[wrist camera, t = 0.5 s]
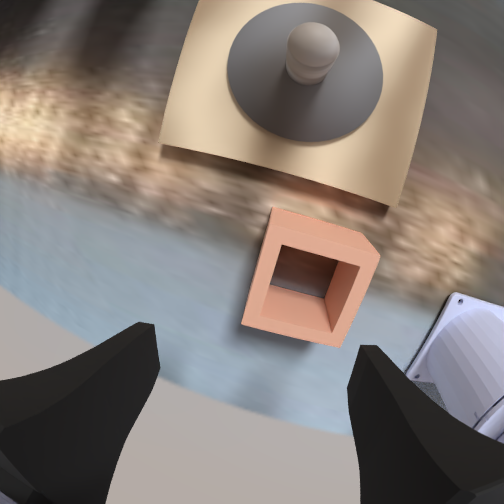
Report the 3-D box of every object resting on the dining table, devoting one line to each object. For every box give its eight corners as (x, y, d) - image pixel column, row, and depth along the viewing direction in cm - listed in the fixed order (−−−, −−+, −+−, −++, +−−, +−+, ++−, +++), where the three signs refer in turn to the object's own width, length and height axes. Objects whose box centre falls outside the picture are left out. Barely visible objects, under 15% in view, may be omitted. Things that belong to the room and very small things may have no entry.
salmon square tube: (361, 233, 18) (380, 255, 14) (331, 311, 20) (339, 347, 16) (272, 206, 18) (269, 223, 14) (249, 290, 20) (240, 324, 16)
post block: (430, 34, 13) (478, 3, 7) (390, 204, 17) (435, 232, 11) (215, -26, 13) (190, -77, 7) (164, 142, 17) (113, 144, 11)
